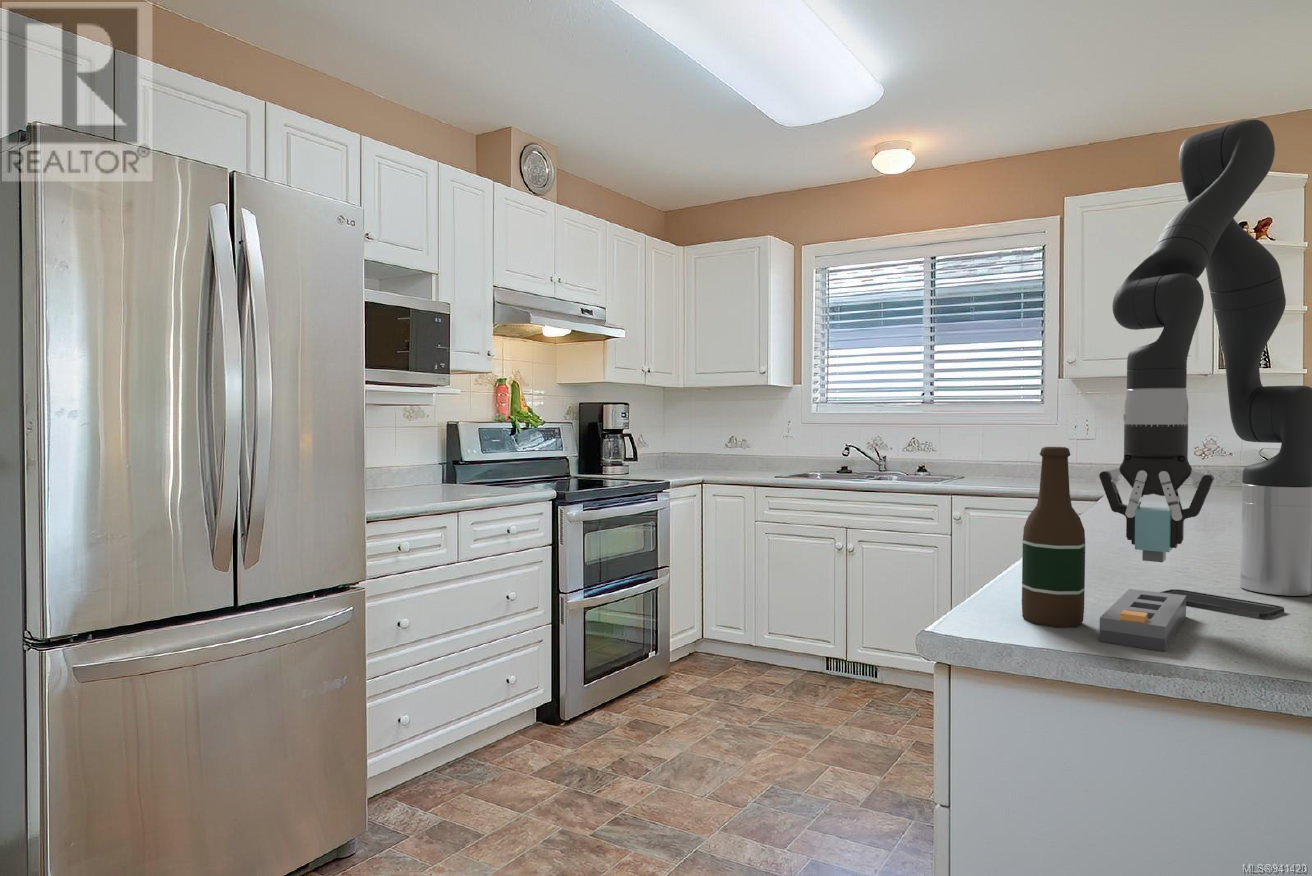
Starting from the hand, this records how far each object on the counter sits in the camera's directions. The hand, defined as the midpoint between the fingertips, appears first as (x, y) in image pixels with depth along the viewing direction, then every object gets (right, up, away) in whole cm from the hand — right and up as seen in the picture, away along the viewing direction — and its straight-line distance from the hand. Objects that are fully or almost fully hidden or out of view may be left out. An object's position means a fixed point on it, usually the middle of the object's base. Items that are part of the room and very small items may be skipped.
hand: (1154, 545), depth 112 cm
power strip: (-4, -11, -4) cm, 12 cm away
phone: (+15, -11, +9) cm, 20 cm away
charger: (0, -2, 0) cm, 2 cm away
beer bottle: (-14, -11, -1) cm, 18 cm away
